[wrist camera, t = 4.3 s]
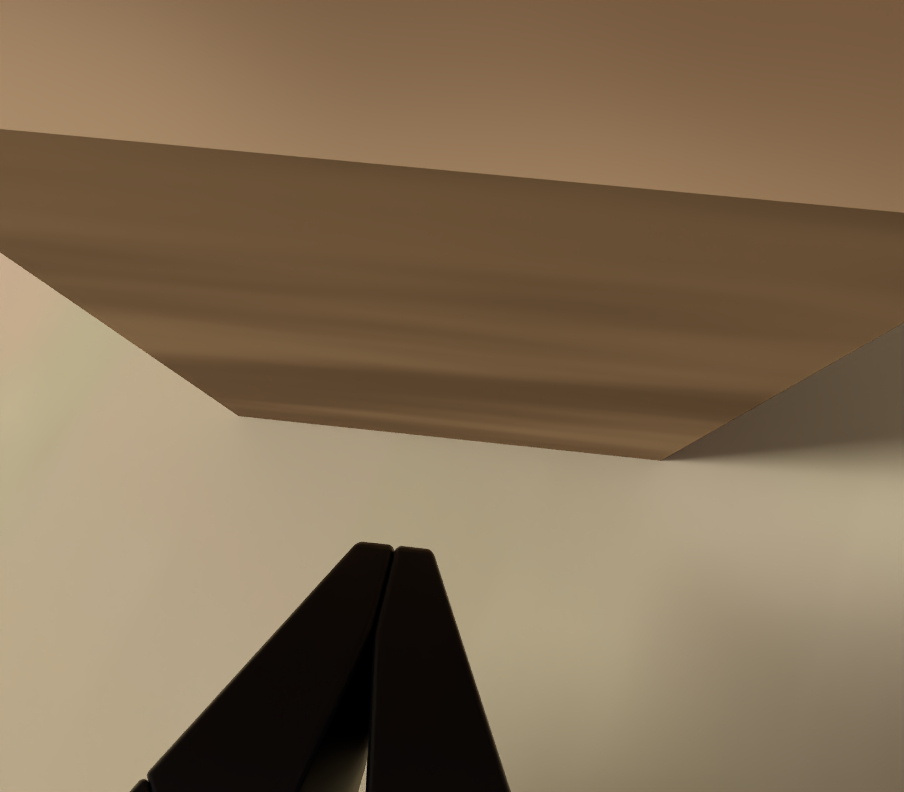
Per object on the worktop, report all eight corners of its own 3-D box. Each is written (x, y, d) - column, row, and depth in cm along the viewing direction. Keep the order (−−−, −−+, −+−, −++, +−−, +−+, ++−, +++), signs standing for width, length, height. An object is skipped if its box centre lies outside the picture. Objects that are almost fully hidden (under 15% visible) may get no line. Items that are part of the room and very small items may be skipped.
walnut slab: (661, 460, 19) (1071, 228, 6) (238, 415, 19) (-209, 108, 6) (669, 298, 20) (1045, -205, 7) (265, 258, 20) (-84, -287, 7)
